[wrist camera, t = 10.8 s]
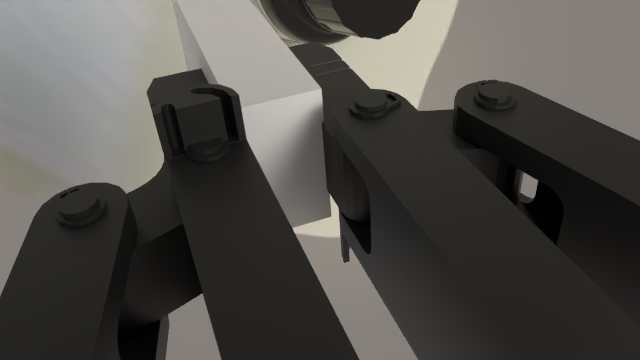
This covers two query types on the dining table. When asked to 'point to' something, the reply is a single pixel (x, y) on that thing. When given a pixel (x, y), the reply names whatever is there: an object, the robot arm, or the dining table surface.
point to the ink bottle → (335, 18)
